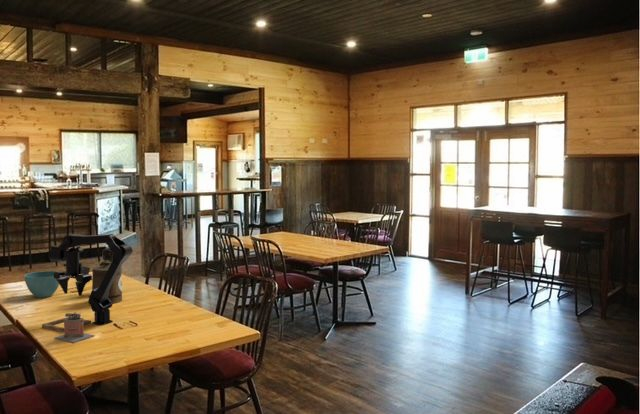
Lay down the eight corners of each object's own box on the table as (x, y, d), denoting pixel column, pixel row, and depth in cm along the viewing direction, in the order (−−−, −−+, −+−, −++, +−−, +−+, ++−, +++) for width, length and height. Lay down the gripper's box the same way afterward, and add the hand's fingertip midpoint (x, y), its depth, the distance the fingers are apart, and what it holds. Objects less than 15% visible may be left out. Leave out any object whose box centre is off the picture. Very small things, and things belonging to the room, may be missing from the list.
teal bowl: (51, 300, 292) (50, 277, 291) (17, 299, 292) (17, 277, 291) (67, 292, 310) (67, 271, 309) (36, 292, 310) (35, 270, 310)
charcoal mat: (94, 336, 232) (94, 335, 232) (74, 343, 223) (74, 341, 223) (74, 332, 237) (74, 331, 237) (54, 338, 228) (54, 337, 228)
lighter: (85, 335, 232) (84, 311, 231) (82, 337, 228) (81, 314, 228) (65, 335, 231) (65, 312, 231) (62, 337, 228) (62, 314, 227)
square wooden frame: (91, 324, 250) (91, 320, 249) (64, 332, 237) (64, 329, 237) (69, 319, 256) (69, 316, 256) (42, 327, 243) (41, 324, 243)
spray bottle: (113, 289, 319) (112, 246, 317) (122, 292, 313) (121, 248, 311) (96, 292, 311) (95, 248, 309) (105, 295, 305) (104, 250, 303)
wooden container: (127, 301, 292) (126, 260, 291) (100, 306, 281) (99, 263, 280) (113, 296, 302) (113, 257, 301) (87, 301, 291) (86, 260, 290)
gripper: (101, 260, 255) (101, 293, 256) (72, 257, 263) (73, 288, 264) (81, 264, 245) (82, 298, 246) (52, 260, 253) (53, 293, 254)
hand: (73, 294), depth 253 cm, fingers open, 9 cm apart
